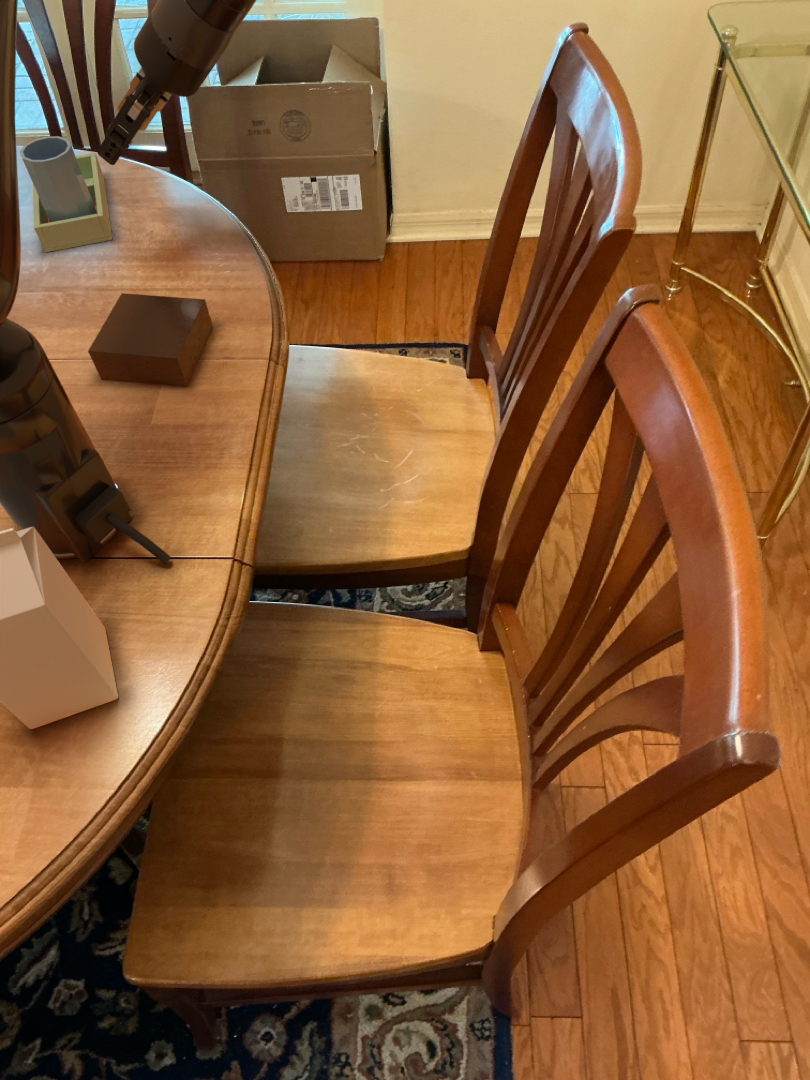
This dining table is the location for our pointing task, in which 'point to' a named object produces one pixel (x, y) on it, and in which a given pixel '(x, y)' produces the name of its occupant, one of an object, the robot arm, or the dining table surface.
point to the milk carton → (47, 637)
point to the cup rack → (79, 227)
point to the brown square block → (152, 339)
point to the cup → (57, 178)
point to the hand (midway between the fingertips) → (119, 139)
